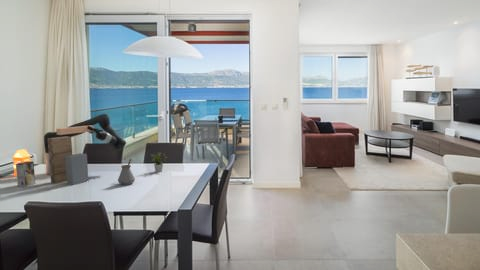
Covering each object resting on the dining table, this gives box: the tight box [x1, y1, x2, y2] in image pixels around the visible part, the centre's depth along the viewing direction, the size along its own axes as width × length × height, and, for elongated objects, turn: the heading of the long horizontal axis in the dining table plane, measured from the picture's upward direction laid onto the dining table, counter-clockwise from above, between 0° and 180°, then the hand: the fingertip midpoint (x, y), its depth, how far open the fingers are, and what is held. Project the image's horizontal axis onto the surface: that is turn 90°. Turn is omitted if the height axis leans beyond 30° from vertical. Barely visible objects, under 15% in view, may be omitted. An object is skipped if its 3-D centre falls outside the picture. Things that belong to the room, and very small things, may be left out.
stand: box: [48, 136, 73, 185], centre depth 249 cm, size 6×14×32 cm, turn 149°
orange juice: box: [12, 148, 31, 177], centre depth 271 cm, size 8×9×20 cm
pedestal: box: [65, 152, 89, 186], centre depth 245 cm, size 7×12×20 cm, turn 149°
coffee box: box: [16, 161, 36, 188], centre depth 239 cm, size 9×6×16 cm
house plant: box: [150, 152, 167, 173], centre depth 277 cm, size 14×14×16 cm
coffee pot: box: [117, 158, 136, 186], centre depth 246 cm, size 21×12×15 cm, turn 4°
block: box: [55, 125, 95, 135], centre depth 243 cm, size 4×26×4 cm, turn 149°
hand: (86, 127), depth 249 cm, fingers closed on block, 4 cm apart
